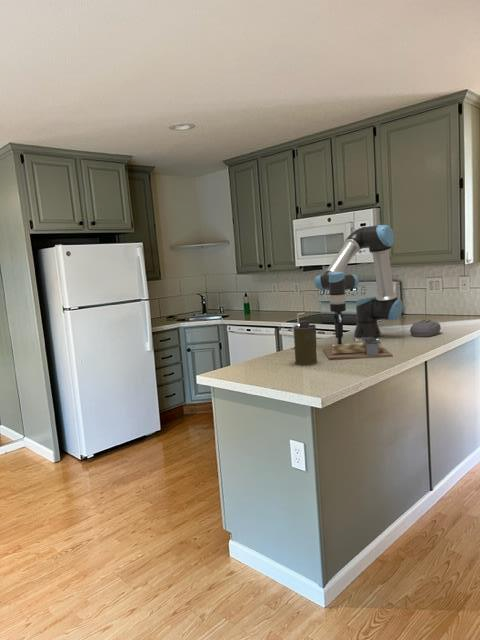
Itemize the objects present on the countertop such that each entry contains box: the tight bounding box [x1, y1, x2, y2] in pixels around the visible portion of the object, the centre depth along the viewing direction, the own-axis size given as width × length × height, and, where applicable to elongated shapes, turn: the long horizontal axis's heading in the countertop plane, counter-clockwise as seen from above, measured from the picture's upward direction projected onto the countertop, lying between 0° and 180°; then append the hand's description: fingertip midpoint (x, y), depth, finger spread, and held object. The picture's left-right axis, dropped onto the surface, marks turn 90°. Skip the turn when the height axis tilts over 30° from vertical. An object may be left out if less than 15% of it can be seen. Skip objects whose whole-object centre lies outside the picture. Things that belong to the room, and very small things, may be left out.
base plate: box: [322, 347, 394, 361], centre depth 240 cm, size 24×30×1 cm
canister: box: [292, 320, 318, 366], centre depth 226 cm, size 11×10×20 cm
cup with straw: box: [290, 312, 307, 336], centre depth 263 cm, size 8×9×20 cm
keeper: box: [360, 337, 379, 356], centre depth 234 cm, size 12×6×7 cm, turn 178°
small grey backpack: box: [409, 319, 442, 338], centre depth 279 cm, size 15×8×20 cm
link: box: [331, 341, 384, 354], centre depth 237 cm, size 24×5×4 cm, turn 85°
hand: (339, 350), depth 241 cm, fingers closed
